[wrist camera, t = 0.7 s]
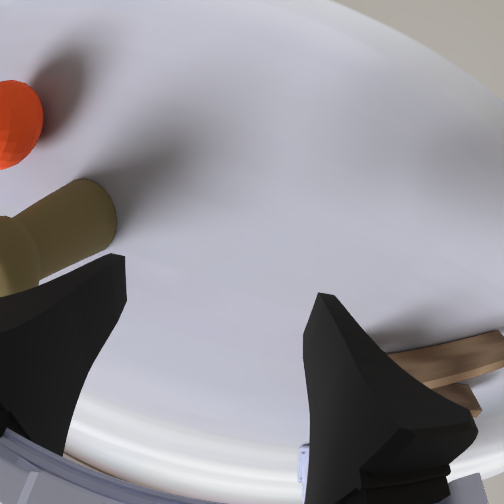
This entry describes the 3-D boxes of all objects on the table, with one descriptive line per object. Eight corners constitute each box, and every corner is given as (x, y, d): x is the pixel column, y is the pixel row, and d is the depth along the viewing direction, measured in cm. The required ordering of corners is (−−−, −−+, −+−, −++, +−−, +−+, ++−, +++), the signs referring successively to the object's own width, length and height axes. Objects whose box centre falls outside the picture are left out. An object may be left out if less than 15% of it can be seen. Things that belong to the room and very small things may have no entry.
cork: (76, 163, 20) (-38, 195, 10) (130, 212, 21) (27, 278, 11) (48, 221, 22) (-49, 274, 12) (95, 268, 23) (9, 345, 13)
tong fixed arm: (317, 365, 24) (321, 403, 20) (322, 357, 24) (327, 394, 20) (463, 391, 25) (477, 419, 21) (468, 385, 24) (483, 412, 20)
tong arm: (365, 366, 24) (374, 400, 20) (366, 357, 23) (376, 391, 20) (495, 338, 22) (514, 363, 18) (498, 329, 21) (518, 354, 18)
